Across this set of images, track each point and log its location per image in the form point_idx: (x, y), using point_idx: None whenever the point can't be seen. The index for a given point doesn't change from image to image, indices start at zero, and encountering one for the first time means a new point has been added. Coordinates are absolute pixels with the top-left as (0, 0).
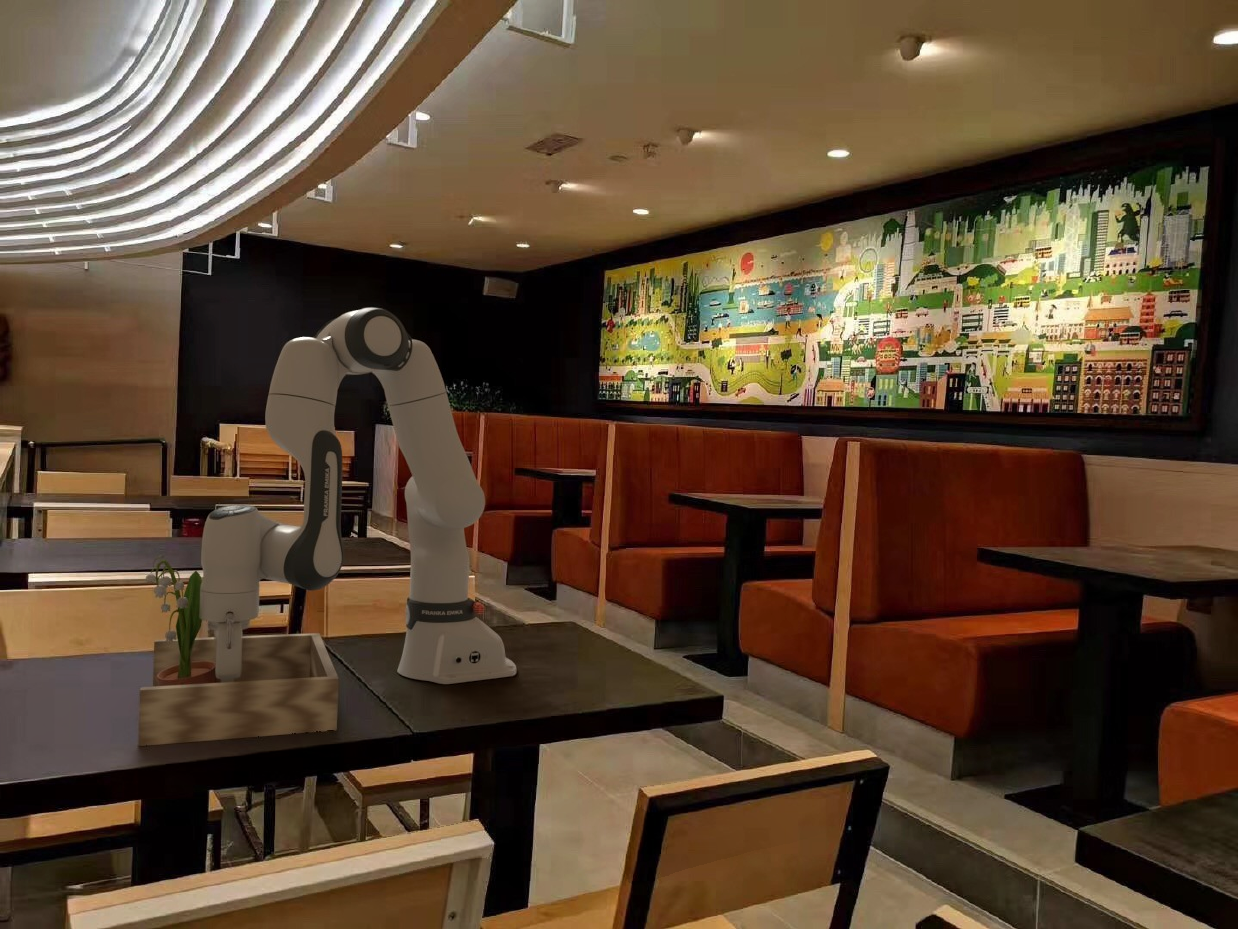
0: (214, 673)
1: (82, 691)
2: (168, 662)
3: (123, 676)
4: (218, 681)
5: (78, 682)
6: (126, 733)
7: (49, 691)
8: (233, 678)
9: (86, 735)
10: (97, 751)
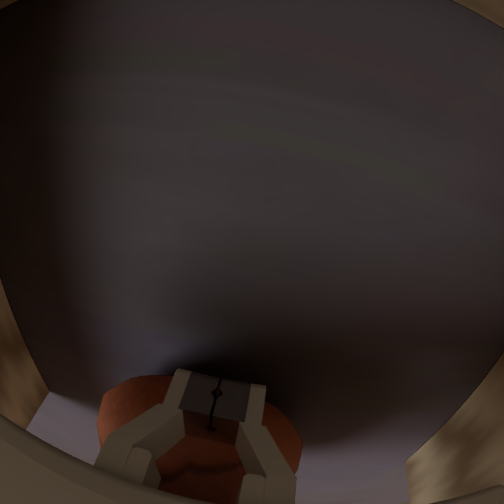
0: (217, 487)
1: (80, 444)
2: (12, 414)
3: None
4: (225, 449)
5: (44, 428)
6: (339, 472)
7: (85, 457)
8: (277, 450)
9: (314, 490)
10: (398, 481)
